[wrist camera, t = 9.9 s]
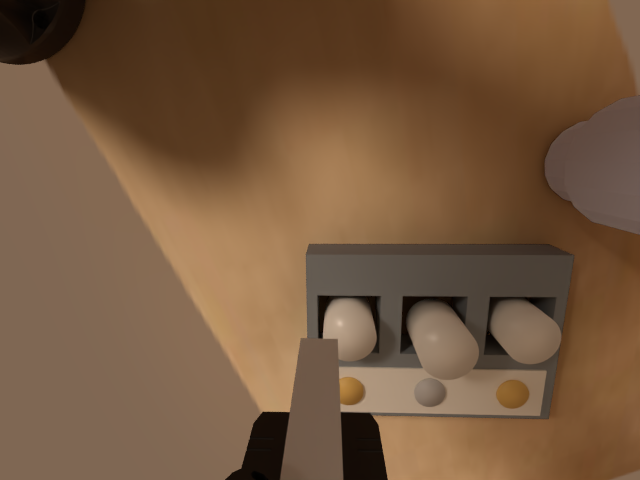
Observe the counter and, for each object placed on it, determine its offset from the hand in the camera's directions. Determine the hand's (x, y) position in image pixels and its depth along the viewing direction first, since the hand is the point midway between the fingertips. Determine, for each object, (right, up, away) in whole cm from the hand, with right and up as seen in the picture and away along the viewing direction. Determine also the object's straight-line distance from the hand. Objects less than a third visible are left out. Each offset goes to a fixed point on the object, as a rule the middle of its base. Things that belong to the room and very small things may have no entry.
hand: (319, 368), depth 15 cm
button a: (+3, -2, +24) cm, 24 cm away
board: (+11, -3, +24) cm, 27 cm away
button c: (+19, -2, +23) cm, 30 cm away
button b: (+11, -3, +21) cm, 24 cm away
